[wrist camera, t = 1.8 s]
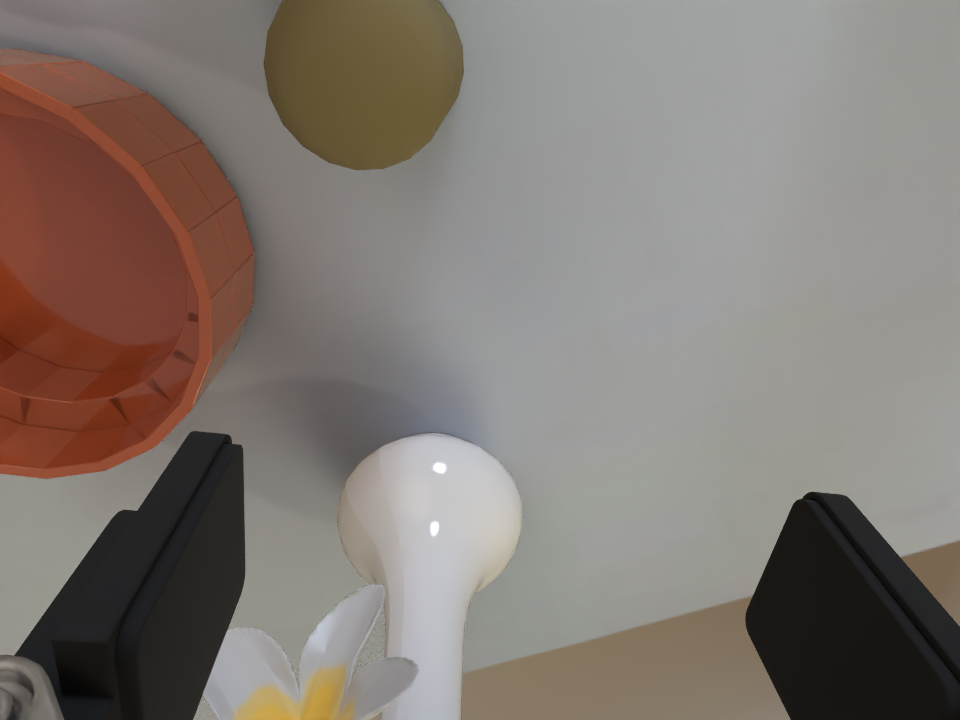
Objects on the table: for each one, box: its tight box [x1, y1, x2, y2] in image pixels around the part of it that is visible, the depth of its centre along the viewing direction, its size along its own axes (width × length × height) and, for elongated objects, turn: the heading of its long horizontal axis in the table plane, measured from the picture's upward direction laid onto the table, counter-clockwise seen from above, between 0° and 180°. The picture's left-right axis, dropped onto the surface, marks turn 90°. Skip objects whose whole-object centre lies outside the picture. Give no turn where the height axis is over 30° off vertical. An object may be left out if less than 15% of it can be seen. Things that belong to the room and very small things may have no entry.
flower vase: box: [203, 433, 523, 720], centre depth 25 cm, size 13×18×25 cm
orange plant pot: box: [0, 49, 255, 479], centre depth 27 cm, size 16×16×6 cm
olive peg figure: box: [264, 0, 464, 170], centre depth 22 cm, size 6×6×11 cm
